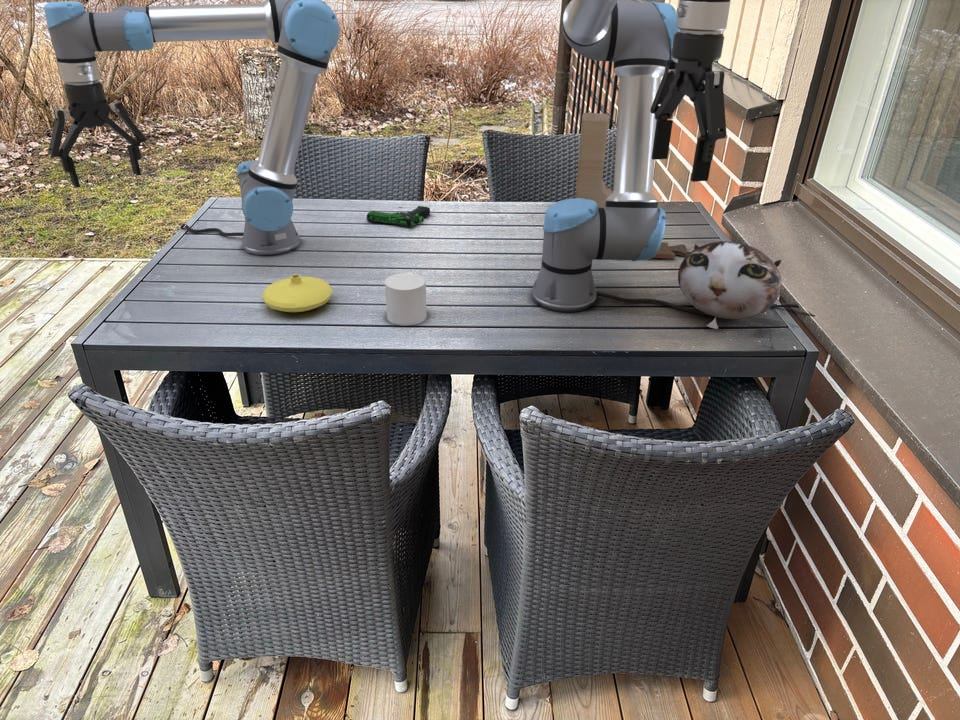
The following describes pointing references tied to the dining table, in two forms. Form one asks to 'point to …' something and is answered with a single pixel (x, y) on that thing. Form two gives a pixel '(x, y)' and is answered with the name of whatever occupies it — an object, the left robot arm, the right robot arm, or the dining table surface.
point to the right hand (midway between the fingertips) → (678, 169)
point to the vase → (297, 294)
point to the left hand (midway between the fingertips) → (107, 180)
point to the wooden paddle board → (670, 251)
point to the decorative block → (592, 159)
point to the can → (406, 299)
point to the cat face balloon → (729, 280)
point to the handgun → (400, 217)
